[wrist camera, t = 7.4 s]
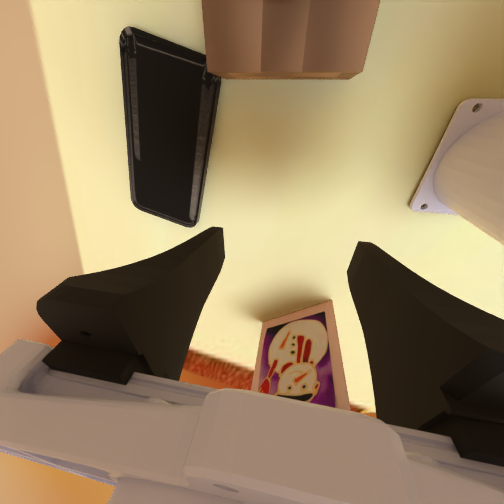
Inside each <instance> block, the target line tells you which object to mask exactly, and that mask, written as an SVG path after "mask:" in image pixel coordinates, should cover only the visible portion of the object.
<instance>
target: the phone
mask: <svg viewBox="0 0 504 504" xmlns="http://www.w3.org/2000/svg"><path fill="white" fill-rule="evenodd" d="M119 44H120V57H121V71H122V84H123V98H124V111H125V125H126V138H127V152H128V165H129V179H130V192H131V201H132V203H133V204H134V206H135V207H136V208H138V209H139V210H141V211H144V212H147V213H149V214H152V215H155V216H158V217H160V218H163V219H166V220H169V221H171V222H174V223H177V224H180V225H182V226H185V227H194V226H195V225H196V224H197V223H198V221H199V218H200V211H201V205H202V199H203V192H204V186H205V180H206V174H207V167H208V161H209V155H210V148H211V142H212V136H213V129H214V123H215V117H216V111H217V104H218V98H219V92H220V85H221V77H220V76H217V75H214V74H212V73H209V72H208V71H207V59H206V55H204V54H201V53H199V52H196V51H193V50H191V49H188V48H186V47H183V46H181V45H178V44H175V43H173V42H170V41H168V40H165V39H162V38H160V37H157V36H155V35H152V34H150V33H147V32H144V31H142V30H139V29H137V28H134V27H126V28H124V29H123V30H122V32H121V35H120V42H119Z"/></svg>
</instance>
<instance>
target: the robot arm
mask: <svg viewBox="0 0 504 504" xmlns="http://www.w3.org/2000/svg"><path fill="white" fill-rule="evenodd" d="M476 104H478V105H479V106H478V108H477V110H476V111H474V112H473V111H472V109H473V107H474V106H475V105H476ZM423 204H426V205H425V206H424V207H423V208H421V206H422V205H423ZM409 207H410V209H411V210H413V211H417V212H429V213H441V214H452V215H460V216H461V217H463V218H464V219H466V220H467V221H469V222H470V223H472V224H473V225H474V226H476V227H477V228H479V229H480V230H482V231H483V232H485V233H486V234H488V235H489V236H491V237H492V238H494V239H495V240H497V241H498V242H500V243H501V244H503V245H504V99H480V98H472V99H466V100H464V101H463V102H461V103H460V104H459V106H458V107H457V109H456V111H455V113H454V115H453V117H452V119H451V121H450V123H449V125H448V128H447V130H446V132H445V134H444V136H443V138H442V140H441V142H440V144H439V146H438V148H437V150H436V152H435V154H434V156H433V158H432V160H431V162H430V164H429V166H428V168H427V170H426V172H425V174H424V176H423V178H422V180H421V182H420V185H419V187H418V189H417V191H416V193H415V195H414V197H413V199H412V201H411V203H410V206H409ZM224 259H225V250H224V237H223V228H221V227H211V228H208V229H207V230H205V231H203V232H201V233H200V234H198V235H196V236H194V237H193V238H191V239H189V240H187V241H186V242H184V243H182V244H180V245H178V246H176V247H174V248H172V249H170V250H168V251H165V252H163V253H161V254H158V255H156V256H153V257H151V258H148V259H145V260H142V261H138V262H135V263H132V264H129V265H125V266H122V267H118V268H114V269H110V270H105V271H101V272H96V273H90V274H85V275H80V276H74V277H69V278H67V279H66V280H64V281H63V282H62V283H60V284H59V285H58V286H56V287H55V288H54V289H52V290H51V291H50V292H48V293H47V294H46V295H44V296H43V297H42V298H40V299H39V300H38V301H37V311H38V314H39V315H40V317H41V318H42V319H43V321H44V322H45V323H46V324H47V325H48V326H49V327H50V328H51V329H52V330H53V332H54V333H55V334H56V335H57V336H58V337H59V338H60V339H61V340H62V341H61V342H60V343H59V344H58V345H57V346H56V347H55V348H53V347H52V346H50V345H47V344H44V343H39V342H35V341H30V340H25V339H19V340H17V341H16V342H14V343H13V344H12V345H11V346H10V347H8V348H7V349H6V350H5V351H4V352H2V353H1V354H0V452H3V453H7V454H10V455H13V456H17V457H21V458H24V459H27V460H30V461H34V462H37V463H40V464H44V465H47V466H50V467H54V468H57V469H61V470H63V471H67V472H71V473H73V474H77V475H80V476H83V477H86V478H90V479H93V480H96V481H100V482H103V483H106V484H109V485H113V486H116V487H115V489H114V491H113V493H112V495H111V497H110V499H109V502H108V504H504V320H503V319H501V318H498V317H496V316H494V315H492V314H489V313H487V312H485V311H483V310H481V309H479V308H477V307H475V306H473V305H471V304H468V303H466V302H464V301H462V300H460V299H459V298H457V297H455V296H453V295H451V294H449V293H447V292H446V291H444V290H442V289H440V288H438V287H437V286H435V285H433V284H432V283H430V282H428V281H427V280H425V279H424V278H422V277H420V276H419V275H417V274H416V273H414V272H413V271H411V270H410V269H408V268H407V267H405V266H404V265H403V264H401V263H400V262H398V261H397V260H396V259H394V258H393V257H392V256H390V255H389V254H387V253H386V252H385V251H383V250H382V249H380V248H379V247H378V246H376V245H375V244H373V243H371V242H361V241H358V244H357V246H356V249H355V252H354V254H353V257H352V260H351V262H350V265H349V268H348V270H347V276H348V283H349V288H350V292H351V295H352V298H353V301H354V304H355V307H356V310H357V313H358V317H359V320H360V323H361V326H362V330H363V333H364V338H365V343H366V348H367V353H368V359H369V364H370V370H371V376H372V383H373V391H374V398H375V406H376V415H377V418H374V417H370V416H367V415H364V414H361V413H358V412H353V411H348V410H343V409H338V408H333V407H328V406H323V405H318V404H313V403H308V402H304V401H299V400H294V399H289V398H284V397H279V396H274V395H269V394H264V393H259V392H254V391H249V390H241V389H230V388H224V389H221V390H219V389H214V388H209V387H205V386H200V385H195V384H190V383H185V382H180V381H179V379H180V375H181V372H182V368H183V365H184V361H185V358H186V355H187V352H188V349H189V345H190V342H191V339H192V336H193V333H194V330H195V328H196V325H197V322H198V319H199V316H200V314H201V311H202V308H203V306H204V304H205V302H206V300H207V298H208V296H209V294H210V292H211V290H212V288H213V286H214V284H215V282H216V280H217V277H218V275H219V273H220V271H221V268H222V265H223V262H224Z"/></svg>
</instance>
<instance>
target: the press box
mask: <svg viewBox="0 0 504 504" xmlns="http://www.w3.org/2000/svg"><path fill="white" fill-rule="evenodd" d="M379 4H380V0H202V10H203V22H204V34H205V46H206V59H207V71H208V72H209V73H212V74H214V75H217V76H220V77H222V78H225V79H350V78H352V77H354V76H355V75H357V74H359V73H360V72H362V71H363V68H364V64H365V60H366V56H367V52H368V48H369V44H370V40H371V36H372V32H373V28H374V24H375V20H376V16H377V12H378V8H379Z"/></svg>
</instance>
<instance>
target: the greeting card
mask: <svg viewBox="0 0 504 504" xmlns="http://www.w3.org/2000/svg"><path fill="white" fill-rule="evenodd" d="M251 391H254V392H259V393H264V394H269V395H274V396H279V397H284V398H289V399H294V400H299V401H304V402H308V403H313V404H318V405H323V406H328V407H333V408H338V409H343V410H348V411H351V410H350V404H349V398H348V392H347V386H346V380H345V374H344V368H343V362H342V356H341V351H340V345H339V339H338V333H337V327H336V321H335V315H334V309H333V303H332V300H330V301H327V302H324V303H321V304H318V305H315V306H312V307H309V308H306V309H303V310H300V311H296V312H293V313H290V314H287V315H284V316H281V317H278V318H275V319H272V320H269V321H266V322H263V324H262V330H261V336H260V342H259V347H258V353H257V359H256V365H255V370H254V376H253V382H252V388H251Z"/></svg>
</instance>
